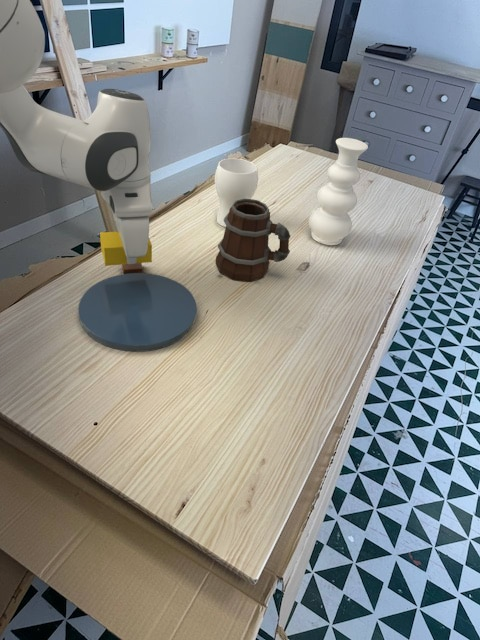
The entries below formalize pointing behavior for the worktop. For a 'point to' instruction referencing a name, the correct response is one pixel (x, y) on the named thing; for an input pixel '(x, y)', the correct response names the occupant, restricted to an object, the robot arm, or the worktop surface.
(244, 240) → the mug
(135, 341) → the plate
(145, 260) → the yellow block
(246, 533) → the worktop surface
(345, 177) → the vase
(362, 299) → the worktop surface
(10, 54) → the robot arm
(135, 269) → the brown box
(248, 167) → the cup
